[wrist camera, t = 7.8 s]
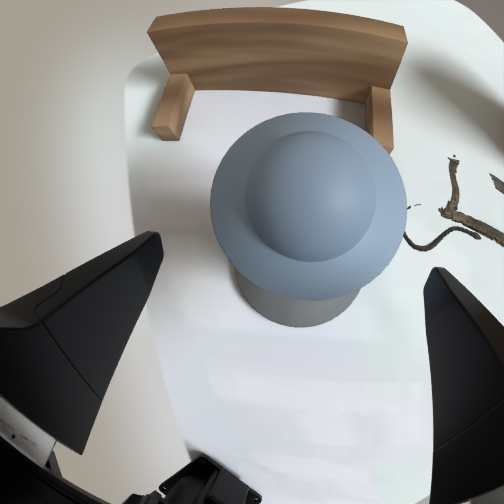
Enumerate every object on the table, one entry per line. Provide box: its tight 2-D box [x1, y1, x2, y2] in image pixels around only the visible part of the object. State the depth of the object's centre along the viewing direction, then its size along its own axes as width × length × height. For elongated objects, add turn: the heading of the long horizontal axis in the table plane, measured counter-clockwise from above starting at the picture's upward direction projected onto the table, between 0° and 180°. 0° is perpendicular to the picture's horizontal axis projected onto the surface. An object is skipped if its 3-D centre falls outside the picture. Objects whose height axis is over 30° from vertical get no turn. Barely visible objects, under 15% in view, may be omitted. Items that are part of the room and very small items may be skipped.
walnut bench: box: [147, 7, 408, 155], centre depth 19 cm, size 8×18×8 cm, turn 81°
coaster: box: [234, 266, 361, 327], centre depth 20 cm, size 9×9×1 cm
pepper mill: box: [210, 113, 407, 301], centre depth 13 cm, size 5×5×15 cm
